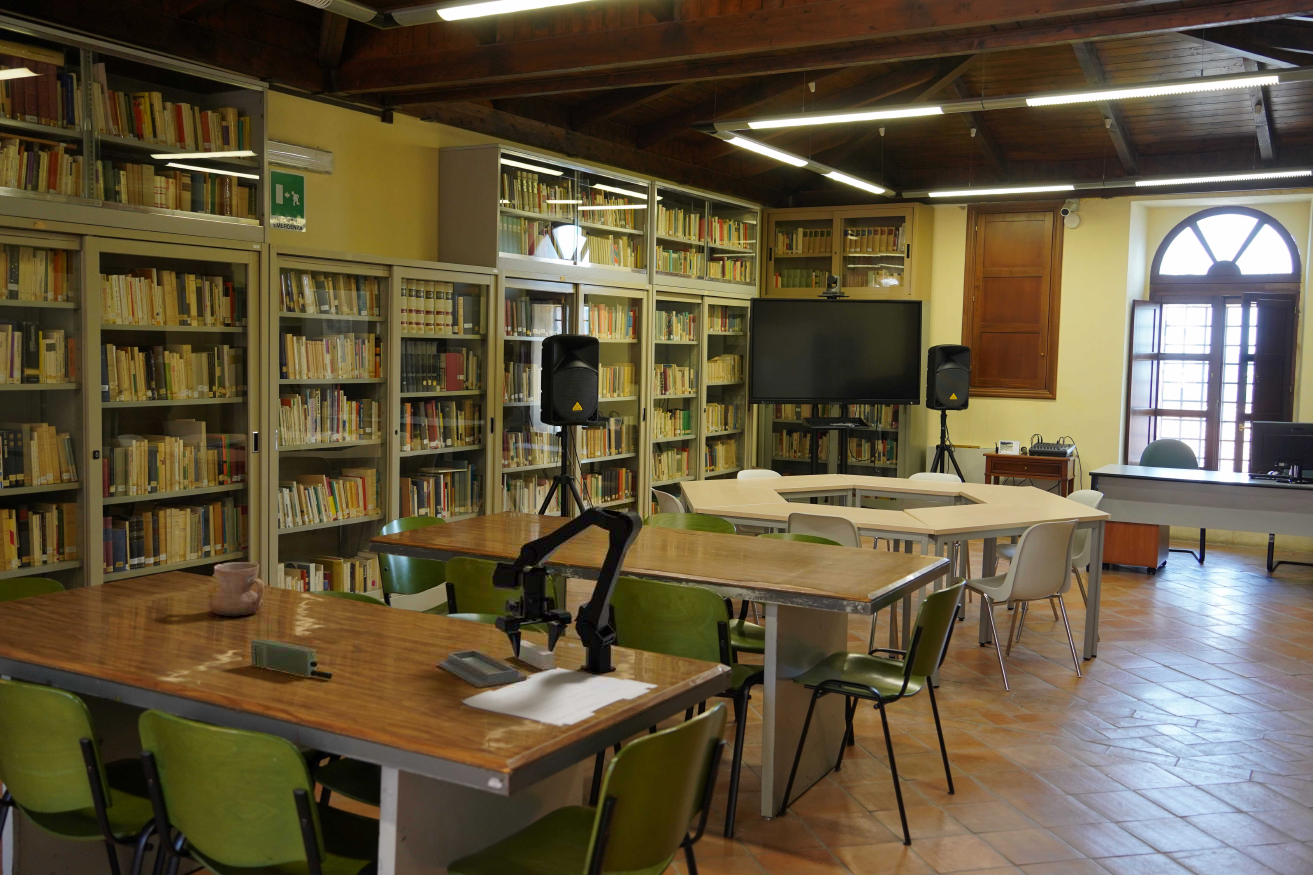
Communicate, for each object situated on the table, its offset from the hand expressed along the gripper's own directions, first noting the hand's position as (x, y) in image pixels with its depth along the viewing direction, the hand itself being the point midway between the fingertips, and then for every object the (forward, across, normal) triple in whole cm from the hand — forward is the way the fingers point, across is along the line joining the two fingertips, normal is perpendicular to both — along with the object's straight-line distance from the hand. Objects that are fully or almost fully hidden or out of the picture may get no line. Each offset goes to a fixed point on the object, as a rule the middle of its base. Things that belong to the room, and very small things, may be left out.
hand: (533, 654), depth 261 cm
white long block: (+2, 0, 0) cm, 2 cm away
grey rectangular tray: (+2, +15, +2) cm, 15 cm away
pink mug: (+2, +47, -91) cm, 103 cm away
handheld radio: (+2, +52, -21) cm, 57 cm away
